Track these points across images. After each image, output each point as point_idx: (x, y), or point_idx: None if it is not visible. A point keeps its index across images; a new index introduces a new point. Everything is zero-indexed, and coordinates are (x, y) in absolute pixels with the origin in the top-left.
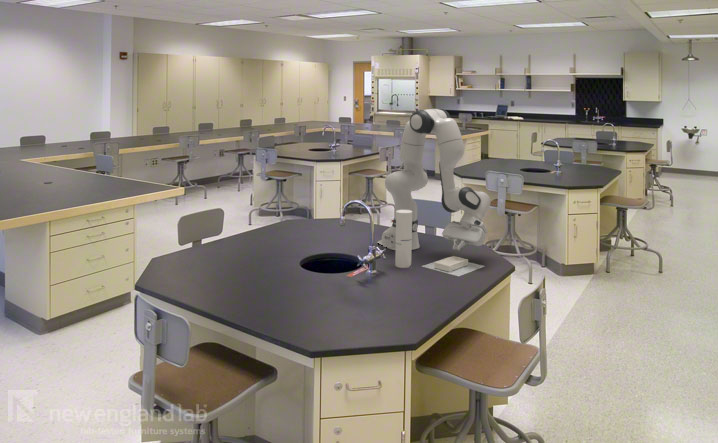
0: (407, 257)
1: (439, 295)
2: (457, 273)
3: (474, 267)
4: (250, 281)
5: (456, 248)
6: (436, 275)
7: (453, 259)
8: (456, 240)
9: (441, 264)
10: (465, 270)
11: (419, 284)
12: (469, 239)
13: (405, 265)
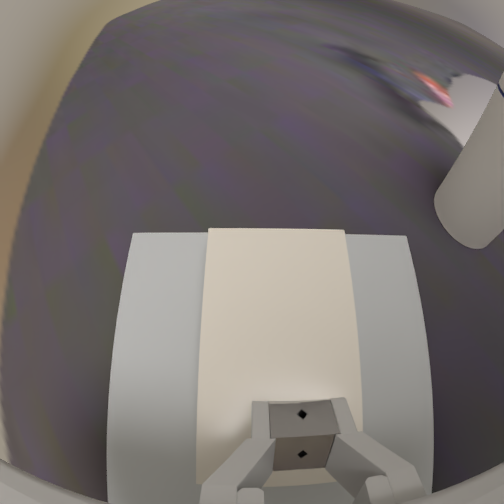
0: (457, 165)
1: (130, 87)
2: (161, 268)
3: (140, 458)
4: (445, 35)
5: (279, 402)
6: (256, 198)
7: (294, 398)
8: (366, 484)
9: (279, 229)
10: (150, 356)
11: (236, 98)
12: (56, 501)
13: (440, 187)
